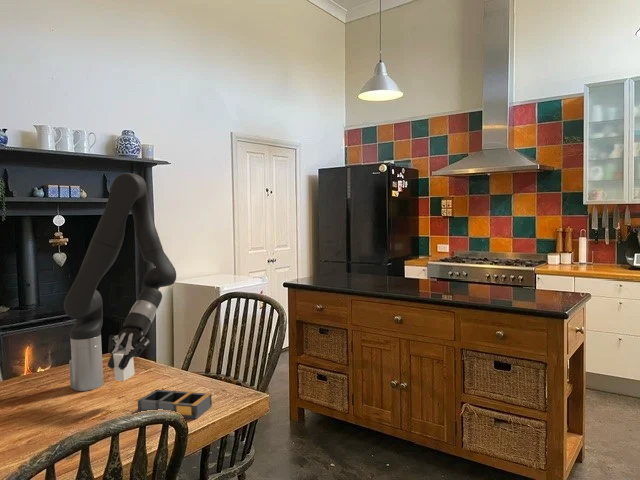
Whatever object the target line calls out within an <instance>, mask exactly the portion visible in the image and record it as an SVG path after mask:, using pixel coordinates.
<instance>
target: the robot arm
mask: <svg viewBox="0 0 640 480" xmlns="http://www.w3.org/2000/svg"><path fill="white" fill-rule="evenodd" d="M151 210H152V209H151V205H150V201H149V194H148V188H147V183H146V181H145V179H144V178H143V177H142V176H140V175H139V174H137V173H134V172H133V173H130V172H129V173H128V172H125V173H120V174H119V175H118V176H116V177H115V178H114V180H113V182H112V184H111V187H110V190H109V195H108V198H107V201H106V204H105V208H104V210H103V212H102V214H101V217H100V219H99V221H98V224H97V227H96V229H95V231H94V233H93V235H92V237H91V239H90V242H89V245H88V248H87V251H86V254H85V255H84V258H83V260H82V262H81V266H80V268H79V270H78V273H77V276H76V277H75V279H74V281H73V282H72V285H71V287H70V289H69V291H68V292H67V295H66V296H65V298H64V301H63V310H64V313H65V314H66V316H67V317H69V318H71V319H74V320H75V323H74V325H73V326H72V328H71V329H70V331H69V338H70V351H71V352H70V353H71V354H70V355H71V359H70V360H68V363H69V365H68V366H69V381H70V383H69V384H70V389H72V390H74V391H77V392H85V391H86V392H87V391H91V390H95V389H98V388H100V387H102V386H103V385H104V370H103V351H102V331H101V330H102V328H103V322H104V318H103V317H104V310H103V309H104V306H103V298H102V295H101V293H100V292H99V290H98V289H97V287H98V285H99V283H100V281H101V280H102V279H103V277H104V275H106V273H107V272H108V271H109V269H110V268H111V267H112V266H113V265H114V263H115V261H116V260H117V258H118V256H119V253H120V250H121V248H122V246H123V242H124V239H125V232H126V223H127V220H128V216H129V214H130V212H131V214H132V219H133V225H134V232H135V238H136V241H137V245H138V249H139V251H140V254H141V257H142V259H143V261H144V262H146V263H151V264H152V265H153V266H154V267H151V268H150V269H149V270H148V271H146V272H145V274H144V276H143V281H142V285H141V292H140V293H139V294H138V297H137V299H136V301H135V303H134V304H133V305H132V307H131V309H130V310H129V313H128V314H127V316H126V318H125V320H124V322H123V324H122V329H121V331H120V332H119V333H117V335H113V334H110V335H109V337H108V346H107V347H108V348H107V352H108V353H109V354H110V355H111V356H110V358H109V360H108V361H107V367H108V368H109V369H110V370H113V369H114V358H113V354H115V353H117V352H118V351H120V350H123V349H126V352H125V355H124V356H123V358H122V359H121V361H120V363H119V365H118V367H119V368H120V369H121V370H124V368H126V367H127V365H128V363H129V360H130V359H131V358H132V357H133V358H138V357H139V356H141V354H142V353H143V352H144V351H145V350H146V349H147V348H148V347H149V345H150V344H151V341H150V340H149V339H148V338H147V336H146V335H147V333H148V332H149V330H150V327H151V325H152V322H153V321H154V319H155V316H156V313H157V311H158V309H159V307H160V304H161V302H162V300H163V294H162V291H160V290H159V289H161V288H163V287H164V288H165V287H169V286H172V285H174V283H176V280H177V271H176V268H175V266H174V264H173V263H172V261H170V258H169V257H168V256H167V254H166V253H165V252H164V248H163V245H162V243H161V240H160V239H161V238H160V236H159V233H158V231H157V228H156V227H157V226H156V224H155V220H154V218H153V214H152V211H151ZM145 336H146V337H145Z"/></svg>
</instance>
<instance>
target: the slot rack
mask: <svg viewBox="0 0 640 480" xmlns="http://www.w3.org/2000/svg"><path fill="white" fill-rule="evenodd" d="M212 399H213V398H212V392H207V393H206V392H194V391H193V390H190V391H183V390H182V391H181V390H169V389H168V390H167V389H155V390H152V391H151V392H150V393H148V394H146V395H144V396H143V397H142V398H140V399H138V400H137V413H138V412H141V411H147V410H158V409H163V410H171V411H175V412H178V413H180V414H181V415H182V416H183V417H184V418H183V419H189V420H198V419H199V418H200V417H201V416H202V415H203V414H205V412H207V411H208V410H210V409H211V408H212V406H213V405H212V404H213V403H212V402H213V401H212Z"/></svg>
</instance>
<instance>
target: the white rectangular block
mask: <svg viewBox="0 0 640 480" xmlns="http://www.w3.org/2000/svg"><path fill="white" fill-rule="evenodd" d="M125 352H126V349H123V350H120V351H119V350H118V351H117V353H115V354H113V358H114V371H113V372H114V379H115V381H118V382H125V381H126V380H128V379H129V378H132V377H133V376H134V375H135V361H134V357H132V358H131V359H130V360H129V363H128V365H127V367H126V368H124V370H121V369H120V368H119V367H118V365H119V363H120V361H121V359H122V358H123V356H124V355H125Z"/></svg>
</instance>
